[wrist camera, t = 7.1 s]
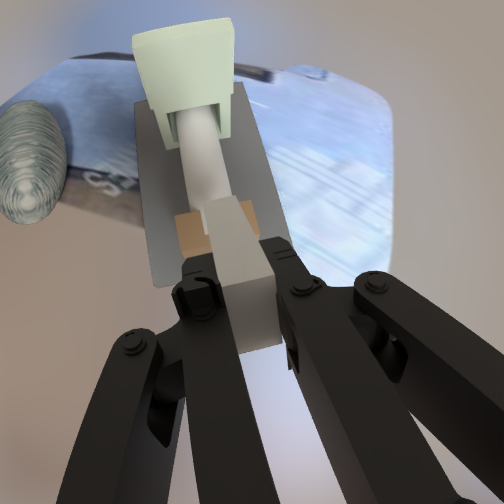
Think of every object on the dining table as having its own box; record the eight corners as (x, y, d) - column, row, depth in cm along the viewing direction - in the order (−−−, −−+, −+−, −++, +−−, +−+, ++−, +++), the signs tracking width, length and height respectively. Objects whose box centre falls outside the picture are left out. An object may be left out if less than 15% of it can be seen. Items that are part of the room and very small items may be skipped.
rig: (157, 288, 27) (126, 266, 19) (137, 111, 32) (117, 56, 23) (292, 258, 28) (315, 225, 20) (241, 90, 33) (244, 32, 25)
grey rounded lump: (-9, 136, 27) (-20, 89, 19) (59, 122, 32) (66, 74, 24) (-1, 243, 27) (-20, 221, 19) (73, 224, 32) (78, 196, 24)
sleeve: (164, 150, 26) (131, 48, 14) (160, 116, 27) (132, 16, 15) (232, 136, 26) (234, 29, 15) (224, 103, 27) (222, 0, 16)
